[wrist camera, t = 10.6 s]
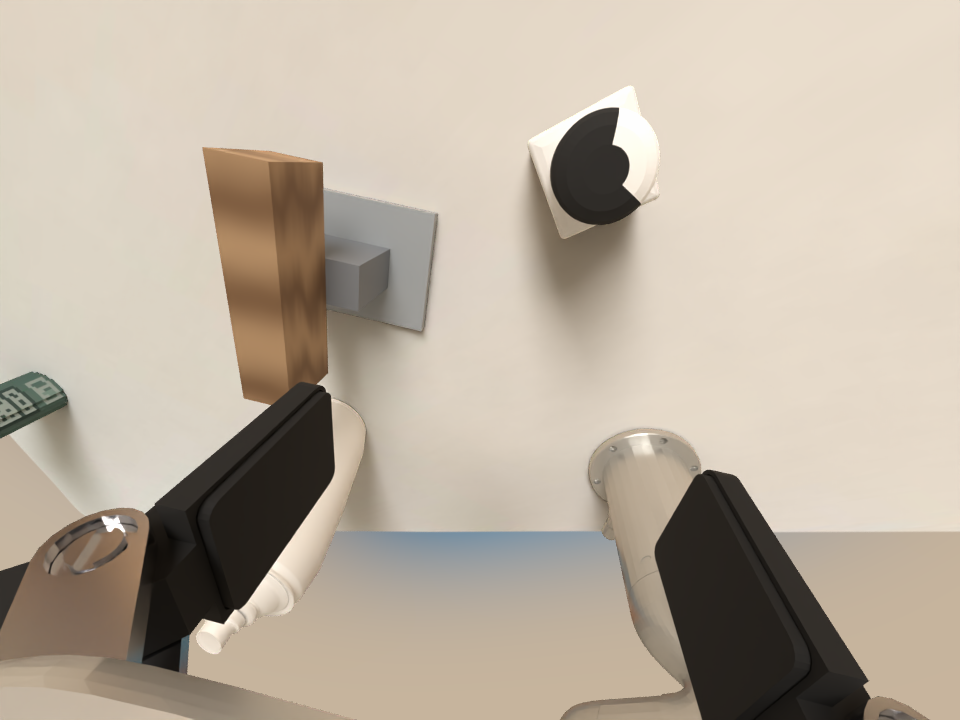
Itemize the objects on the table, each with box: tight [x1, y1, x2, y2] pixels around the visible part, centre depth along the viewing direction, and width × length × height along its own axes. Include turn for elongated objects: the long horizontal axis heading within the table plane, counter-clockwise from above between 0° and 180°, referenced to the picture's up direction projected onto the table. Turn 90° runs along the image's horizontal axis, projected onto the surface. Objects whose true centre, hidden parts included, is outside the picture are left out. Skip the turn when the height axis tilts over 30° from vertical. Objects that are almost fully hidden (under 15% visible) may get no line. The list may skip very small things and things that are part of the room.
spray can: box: [196, 398, 366, 654], centre depth 38 cm, size 12×11×25 cm
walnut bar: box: [202, 147, 328, 405], centre depth 28 cm, size 18×4×6 cm, turn 169°
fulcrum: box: [323, 188, 438, 331], centre depth 34 cm, size 12×18×8 cm, turn 79°
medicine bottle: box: [527, 86, 660, 239], centre depth 26 cm, size 7×7×12 cm
